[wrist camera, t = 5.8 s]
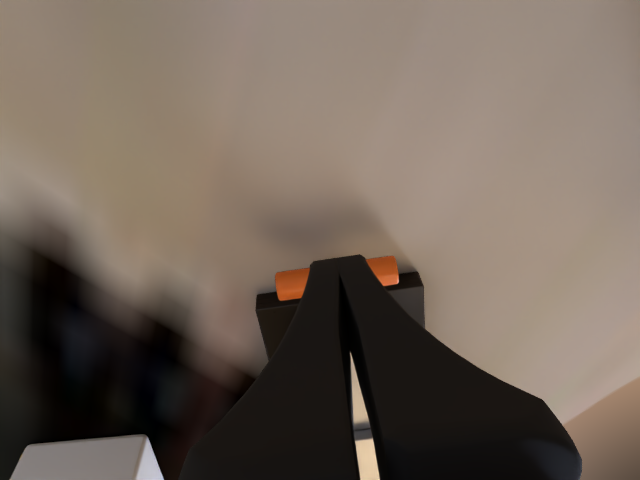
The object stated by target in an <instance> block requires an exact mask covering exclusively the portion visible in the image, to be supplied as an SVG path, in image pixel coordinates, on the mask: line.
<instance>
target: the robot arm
mask: <svg viewBox="0 0 640 480" xmlns="http://www.w3.org/2000/svg"><path fill="white" fill-rule="evenodd" d="M350 352H351V354H350ZM351 355H352V359H353V363H354V367H355V371H356V374H357V378H358V382H359V386H360V389H361V393H362V397H363V401H364V404H365V408H366V412H367V416H368V419H369V423H370V428H371V432H372V437H373V442H374V448H375V454H376V460H377V466H378V472H379V478H380V480H580V476H581V472H582V459H581V457H580V455H579V453H578V450H577V448H576V446H575V444H574V442H573V441H572V439H571V437H570V436H569V434H568V433H567V431H566V430H565V428H564V427H563V426H562V424H561V423H560V421H559V420H558V419H557V417H556V416H555V415H554V414H553V412H552V411H551V410H550V408H549V407H548V406H547V405H546V403H545V402H544V401H543V400H542V399H540V398H538V397H536V396H534V395H531V394H529V393H527V392H525V391H523V390H521V389H518V388H516V387H514V386H512V385H510V384H508V383H505V382H503V381H501V380H499V379H498V378H496V377H494V376H492V375H490V374H489V373H487V372H485V371H483V370H481V369H480V368H478V367H476V366H475V365H473V364H472V363H470V362H469V361H467V360H466V359H464V358H463V357H461V356H459V355H458V354H456V353H455V352H453V351H452V350H451V349H449V348H448V347H447V346H445V345H444V344H443V343H441V342H440V341H439V340H438V339H436V338H435V337H434V336H433V335H431V334H430V333H429V332H428V331H427V330H425V329H424V328H423V327H422V326H421V325H420V324H419V323H418V322H417V321H416V320H414V319H413V318H412V317H411V316H410V315H409V314H408V313H407V312H406V311H405V310H404V309H403V308H402V306H401V305H400V304H399V303H398V302H397V301H396V300H395V299H394V298H393V296H392V295H391V294H390V293H389V292H388V291H387V290H386V288H385V287H384V286H383V285H382V283H381V282H380V281H379V279H378V278H377V277H376V275H375V274H374V273H373V271H372V270H371V268H370V267H369V265H368V263H367V261H366V260H365V258H364V257H363V256H362V255H353V256H346V257H339V258H332V259H326V260H319V261H314V262H313V263H312V264H311V265H310V270H309V275H308V279H307V282H306V286H305V289H304V292H303V295H302V297H301V300H300V302H299V305H298V307H297V310H296V312H295V314H294V317H293V319H292V321H291V323H290V325H289V327H288V329H287V331H286V333H285V335H284V337H283V339H282V340H281V342H280V344H279V346H278V347H277V349H276V351H275V352H274V354H273V356H272V357H271V359H270V360H269V362H268V363H267V365H266V366H265V368H264V369H263V370H262V372H261V373H260V375H259V376H258V377H257V379H256V380H255V382H254V383H253V384H252V385H251V387H250V388H249V389H248V391H247V392H246V393H245V394H244V395H243V396H242V398H241V399H240V400H239V401H238V402H237V403H236V404H235V405H234V407H233V408H232V409H231V410H230V411H229V412H228V413H227V415H226V416H225V417H224V418H223V419H222V420H221V421H220V422H219V423H218V424H217V425H216V426H215V427H214V428H213V429H211V430H210V431H209V432H208V433H207V434H206V435H205V436H204V437H203V438H202V439H201V440H200V441H199V442H197V443H196V444H195V445H194V446H193V447H192V448H191V449H190V450H189V452H188V454H187V457H186V459H185V462H184V465H183V468H182V470H181V474H180V477H179V480H361V479H360V472H359V465H358V458H357V451H356V444H355V433H354V419H353V397H352V375H351Z"/></svg>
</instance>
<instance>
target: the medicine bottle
mask: <svg viewBox="0 0 640 480" xmlns="http://www.w3.org/2000/svg"><path fill="white" fill-rule="evenodd" d="M9 480H164V479H163V476H162V474H161V471H160V468H159V466H158V463H157V460H156V458H155V455H154V452H153V450H152V447H151V444H150V442H149V439H148V437H147V436H146V435H145V434H137V435H126V436H115V437H104V438H93V439H82V440H71V441H60V442H49V443H38V444H31V445H28V446H27V447H26V448H25V449H24V451H23V453H22V455H21V457H20V459H19V461H18V463H17V465H16V467H15V469H14V471H13V473H12V475H11V477H10V479H9Z"/></svg>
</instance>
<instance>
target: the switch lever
mask: <svg viewBox="0 0 640 480" xmlns="http://www.w3.org/2000/svg"><path fill="white" fill-rule="evenodd" d="M366 261H367V263H368V265H369V267H370V268H371V270H372V271H373V273H374V274H375V275H376V277H377V278H378V279H379V281H380V282H381V283H382V285H383V286H388V285H394V284H398V282H399V275H398V268H397V263H396V259H395V257H394V256H386V257H379V258H372V259H366ZM309 270H310V268H304V269H297V270H290V271H283V272H277V273H276V275H275V282H276V290H277V295H278V298H279V300H280V301H284V300H291V299H298V298H301V297H302V295H303V292H304V289H305V286H306V282H307V279H308V275H309ZM350 354H351V352H350ZM351 375H352V397H353V419H354V433H355V444H356V451H357V458H358V465H359V472H360V479H361V480H380V478H379V472H378V466H377V460H376V454H375V448H374V442H373V437H372V432H371V428H370V423H369V419H368V416H367V412H366V408H365V404H364V401H363V397H362V393H361V389H360V386H359V382H358V378H357V374H356V371H355V367H354V363H353V359H352V355H351Z"/></svg>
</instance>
